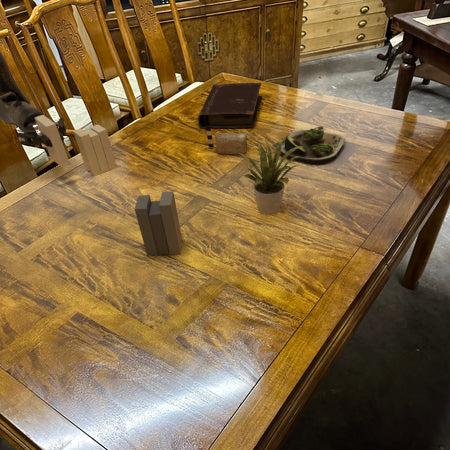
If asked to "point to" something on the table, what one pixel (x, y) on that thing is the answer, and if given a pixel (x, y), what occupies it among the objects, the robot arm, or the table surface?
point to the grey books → (159, 224)
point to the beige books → (95, 149)
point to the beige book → (53, 140)
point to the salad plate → (312, 146)
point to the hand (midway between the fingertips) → (55, 141)
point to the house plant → (270, 178)
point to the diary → (231, 106)
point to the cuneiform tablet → (228, 142)
